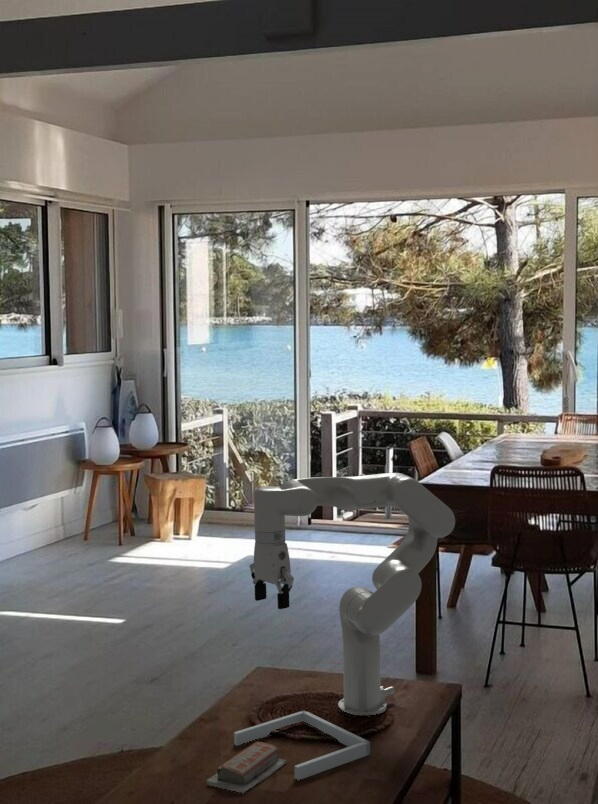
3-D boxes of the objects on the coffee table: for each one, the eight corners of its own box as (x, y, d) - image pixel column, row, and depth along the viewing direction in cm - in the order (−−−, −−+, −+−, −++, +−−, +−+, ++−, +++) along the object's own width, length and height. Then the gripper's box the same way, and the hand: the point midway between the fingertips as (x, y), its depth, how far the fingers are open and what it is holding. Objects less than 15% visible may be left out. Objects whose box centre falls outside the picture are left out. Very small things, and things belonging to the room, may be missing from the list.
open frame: (304, 721, 283) (304, 710, 282) (370, 754, 263) (370, 741, 262) (234, 744, 270) (234, 732, 270) (298, 780, 250) (297, 767, 250)
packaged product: (250, 736, 264) (286, 745, 259) (250, 756, 264) (287, 765, 259) (205, 766, 248) (243, 775, 243) (206, 787, 249) (243, 796, 244)
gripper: (303, 540, 274) (305, 608, 276) (262, 528, 288) (264, 593, 290) (278, 545, 269) (280, 614, 271) (238, 533, 283) (240, 599, 285)
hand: (272, 603), depth 280 cm, fingers open, 9 cm apart
